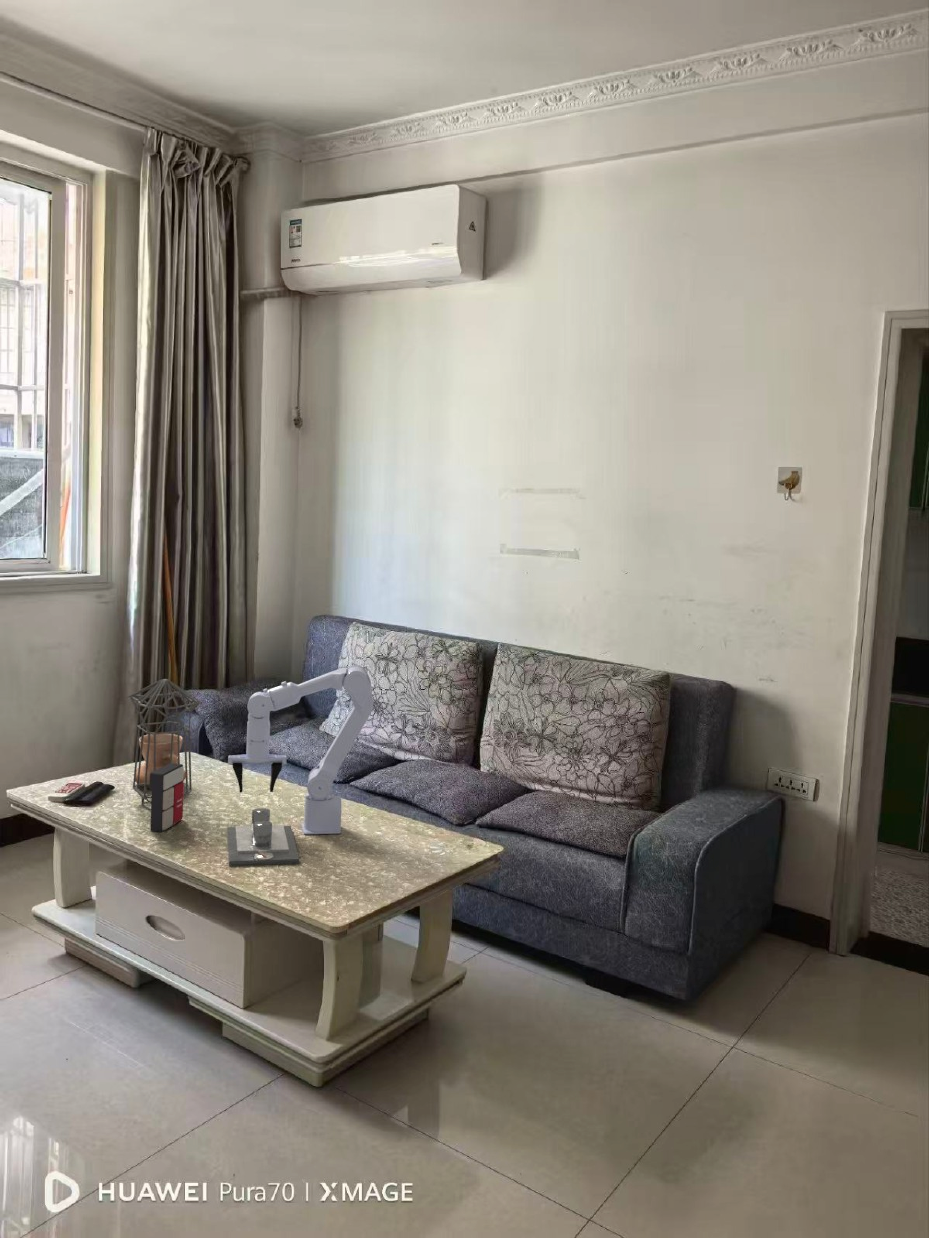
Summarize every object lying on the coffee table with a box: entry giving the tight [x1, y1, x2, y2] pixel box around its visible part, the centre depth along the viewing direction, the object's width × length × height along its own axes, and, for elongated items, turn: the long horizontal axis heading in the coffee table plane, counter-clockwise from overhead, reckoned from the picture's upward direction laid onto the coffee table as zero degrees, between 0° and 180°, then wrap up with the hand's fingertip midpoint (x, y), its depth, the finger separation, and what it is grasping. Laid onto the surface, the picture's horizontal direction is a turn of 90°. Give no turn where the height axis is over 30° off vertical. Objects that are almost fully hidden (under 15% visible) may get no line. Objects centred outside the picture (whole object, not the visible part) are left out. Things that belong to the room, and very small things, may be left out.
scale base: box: [226, 825, 300, 867], centre depth 244 cm, size 16×24×2 cm, turn 14°
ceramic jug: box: [135, 733, 186, 789], centre depth 287 cm, size 18×14×14 cm
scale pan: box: [234, 824, 289, 853], centre depth 245 cm, size 12×18×1 cm, turn 14°
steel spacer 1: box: [251, 807, 271, 832], centre depth 250 cm, size 4×4×5 cm
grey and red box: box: [149, 763, 185, 833], centre depth 254 cm, size 11×4×15 cm, turn 168°
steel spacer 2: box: [253, 821, 273, 847], centre depth 241 cm, size 4×4×5 cm
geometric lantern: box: [126, 678, 202, 811], centre depth 268 cm, size 16×16×35 cm
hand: (256, 791), depth 256 cm, fingers open, 7 cm apart
